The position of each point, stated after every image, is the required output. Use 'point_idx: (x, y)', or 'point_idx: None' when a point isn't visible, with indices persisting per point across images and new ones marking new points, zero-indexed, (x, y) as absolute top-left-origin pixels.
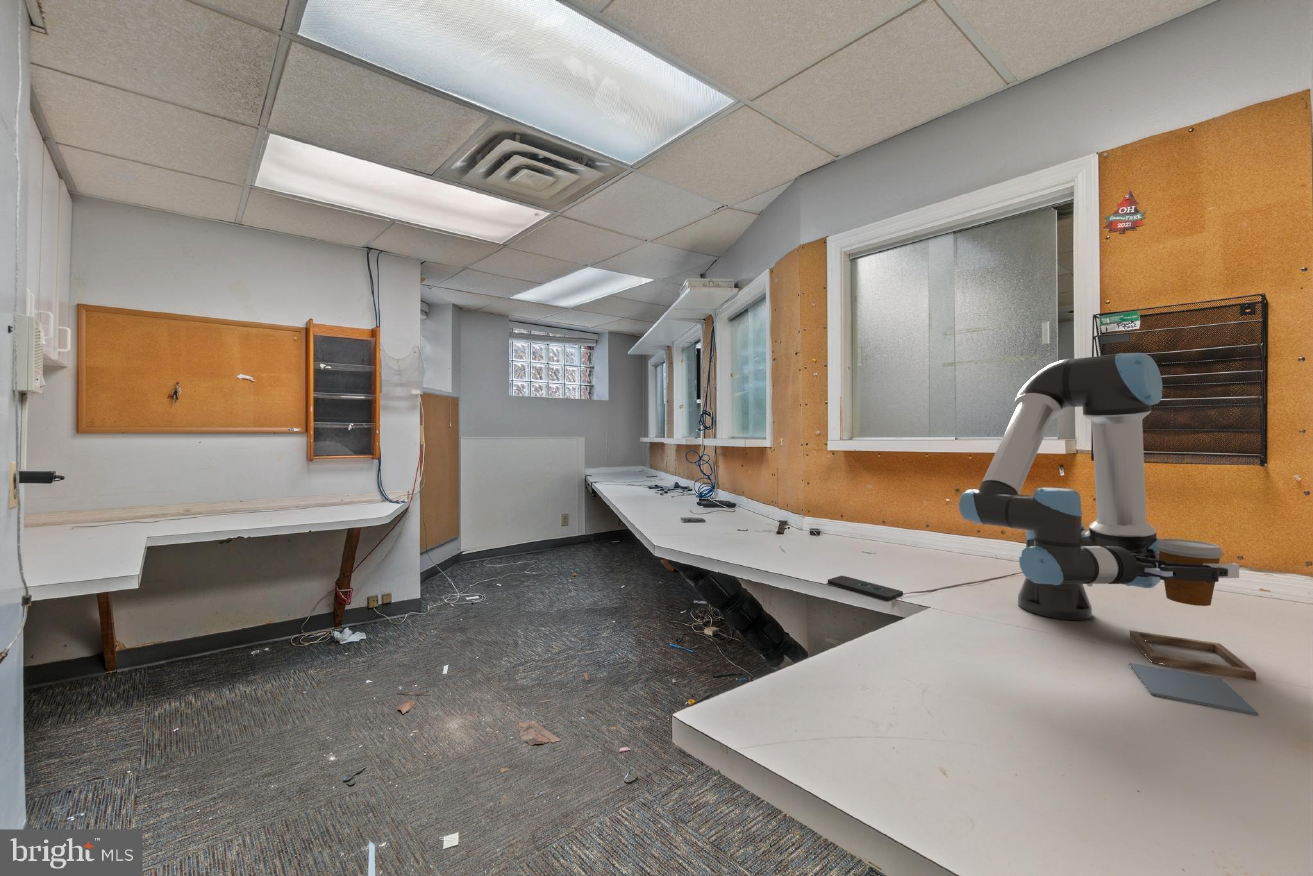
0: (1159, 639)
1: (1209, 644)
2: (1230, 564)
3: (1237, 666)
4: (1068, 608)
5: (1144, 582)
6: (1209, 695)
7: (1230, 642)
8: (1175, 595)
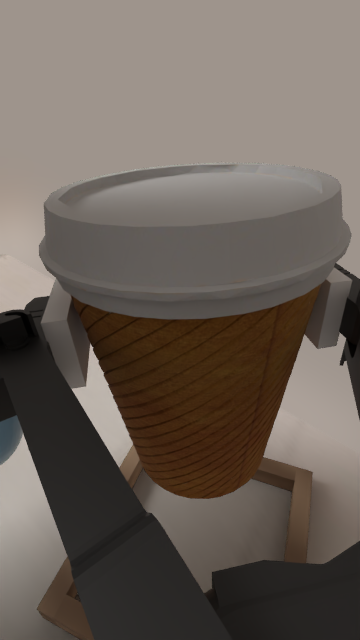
0: None
1: None
2: None
3: (262, 475)
4: None
5: (6, 459)
6: None
7: (108, 388)
8: (227, 478)
